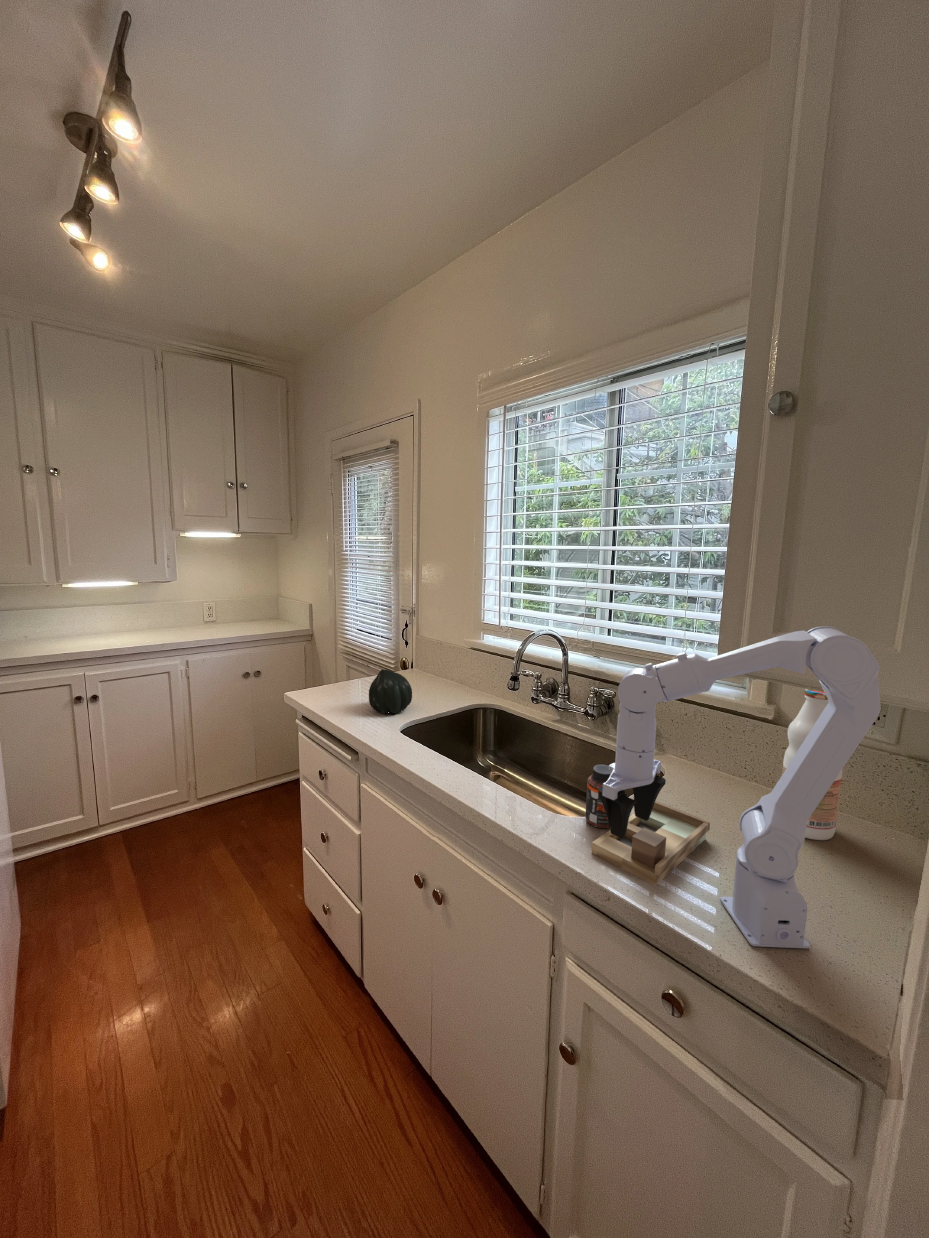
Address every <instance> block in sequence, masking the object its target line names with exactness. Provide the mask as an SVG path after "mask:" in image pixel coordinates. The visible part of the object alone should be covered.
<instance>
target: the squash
mask: <svg viewBox="0 0 929 1238" xmlns="http://www.w3.org/2000/svg"><path fill="white" fill-rule="evenodd" d="M412 699H413V689H412V686H411V683H410V681H408V679H407V678H406V677H405V676H404V675H402V674H400V673H399V672H396V671H392V670H390V669H383V668H382V669H380V671H379V672H378V673H377V675H376V677H375V678H374V679H373V680H372V681H371V684H370V686H369V689H368V702H369V705H370V707H371V708H372V710H374V711H375V710H376V712H378V711H381V712H380V713H382V714H384V713H388V712H390V714H392V713H396V714H398V713H399V712H400V711H404V710H406V709H407V708H408V706H409V705H410V704H411V703H412ZM388 714H389V713H388Z"/></svg>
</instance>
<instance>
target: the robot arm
mask: <svg viewBox="0 0 929 1238" xmlns="http://www.w3.org/2000/svg"><path fill="white" fill-rule="evenodd" d="M772 668H781V669H784V670H788V671H791V672H795V673H800V674H802V675H806V674H807V668H809V670H810V671H811V672H812V673H813V674H814V675H815V676H816V677H817V678H818V683H820V686H821V689H823V690H824V692H825V694H826V696H827V698H828V704H827V706H826V707H825V709H824V710H823V712H822V714H821V715H820V717H819V718H818V720H817V721H816V723H815V724H814V726H813V728H812V729H811V731H810V732H809V734H808V735H807V737H806V739H805V740H804V742H803V743H802V745H801V746H800V748H799V750H798V751H797V753H796V754H795V756H794V757H793V759H792V761H791V762H790V764H789V765H788V767H787V768H786V770H785V772H784V773H783V775H782V774H781V776H780V778H779V779H778V781H777V783H776V784H775V786H774V787H773V789H772V791H771V792H770V793H768V794H765V795H762V796H761V797H760V799H759V801H758V802H757V803H756V804H755V805H753V806H751V807H749V808H747V809H746V810H744V811H743V813H742V814H741V815H740V818H739V827H740V829H739V830H740V832H741V834H742V839H743V843H742V845H741V846H740V847H738V848H737V851H736V859H735V868H734V869H735V870H734V880H733V889H732V896H724V895H723V896H720V897H719V901H720V902H721V903H722V906H723V907H724V908H725V910H726V911H727V912H728V914H729V915H730V916H731V919H732V920H733V921H734V922H735V924H736V926H737V927H738V928H739V930H740V931H741V933H742V934H743V936H744V938H745V939H746V940H747V942H748V943H749V944H750V945H751V946H752V947H762V948H763V947H764V948H767V947H768V948H769V947H770V948H783V949H785V948H789V949H810V947H811V946H810V943H809V942H808V941H807V939H806V938H805V931H806V924H807V923H806V921H807V916H808V915H807V914H808V906H807V901H806V899H805V898H804V897H803V895H802V894H801V892H800V891H799V888H798V887H797V884H796V880H795V872H796V871H797V869H798V866H799V852H800V850H801V848H802V846H803V845H804V843H805V839H806V838H805V833H806V826H807V821H808V819H809V817H810V816H811V815H812V813H813V812H814V810H815V809H816V807H817V806H818V804H819V803H820V801H821V800H822V798H823V797H824V795H825V794H826V792H827V791H828V789H829V788H830V786H831V785H832V783H833V782H834V780H835V779H836V777H837V776H838V775H839V773H840V772H841V770H842V771H843V769H844V767H845V765H846V764H847V763H848V761H849V760H850V759H851V757H852V755H853V754H854V752H855V751H856V749H857V748H858V746H859V745H860V744H861V742H862V741H863V739H864V737H865V736H866V734H867V732H869V730H870V728H871V727H872V725H873V724H874V722H876V721H877V718H878V717H879V714H880V713H881V710H882V709H881V697H880V685H879V672H880V668H881V666H880V664H879V663H878V661H877V659H876V658H875V656H874V654H873V653H872V652H871V649H870V648H869V647H868V645H867V644H866V643H864V642H863V641H862V640H861V639H858V638H857V637H854V636H851V635H848V634H846V632H844V631H843V630H841V629H839V628H837V627H834V626H830V625H829V626H827V625H826V626H825V625H824V626H816V627H813V628H810V629H809V630H808V631H806V630H795V631H792V632H789V633H785V634H782V635H778V636H775V637H772V638H769V639H765V640H762V641H759V642H756V643H753V644H750V645H747V646H744V647H740V648H737V649H735V650H731V651H728V652H726V653H725V652H724V653H722V654H718V655H715V656H713V657H710V658H707V657H703V656H701V655H699V654H697V653H692V654H689V655H687V652H686V651H683V652H680V653H677V654H676V658H674V659H671V660H668V661H665V662H660V663H657V664H655V665H653V663H652V662H650V663H646V664H645V665H644V668H642V667H637V668H635V667H634V668H633V669H630V670H628V671H627V672H626V673H625V674H624V675H623V677H622V679H621V681H620V683H619V684H618V687H617V696H618V697H617V698H618V700H619V704H618V710H619V713H618V715H617V724H616V743H615V744H616V746H615V759H614V760H615V761H614V762H613V763H610V764H609V765H608V766H609V770H611V771H612V773H611V775H610V777H609V778H608V780H607V781H606V782H605V783H604V784H603V787H601V788H599V789H598V796H599V798H600V799H601V801H602V803H603V805H604V808H605V810H606V814H607V818H608V822H609V827H610V828H609V830H610V832H611V834H613V835H615V836H617V837H619V838H624V837H625V834H626V831H627V826H628V820H629V817H630V816H631V813H632V811H634V813H635V816H636V817H638V818H641V819H643V820H645V821H647V820H649V818H650V815H651V812H652V809H653V806H654V803H655V801H657V797H658V796H659V794H660V792H661V791H662V789H663V788H664V786H665V785H666V781H667V779H666V778H664V777H662V776H660V775H659V774H660V773H661V771H662V770H661V769H662V762H661V761H660V760H659V759H658V760H657V759H655V749H656V734H657V718H656V711H657V710H656V709H657V708H656V706H657V704H658V703H659V702H663V703H668V702H671V701H675V700H679V699H683V698H688V697H691V696H694V695H698V694H703V693H707V692H710V690H711V688H712V686H713V685H714V684H715V682H716V681H718V680H722V679H727V678H732V677H736V676H741V675H744V674H745V675H746V674H750V673H755V672H759V671H764V670H768V669H772ZM627 789H632V793H633V798H631V797H628V794H627V793H626V790H627Z"/></svg>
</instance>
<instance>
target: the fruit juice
mask: <svg viewBox="0 0 929 1238" xmlns="http://www.w3.org/2000/svg"><path fill="white" fill-rule="evenodd" d="M804 698H805V701H804V703H803V704H802V706H801V708H800V710H799V712H798V714H797V715H796V717H795V718H794V719H793V720H792V721H791V722H789V723H790V724H789V725H788V727H787V739H788V746H787V748H786V749H785V751H784V756H783V761H782V762H783V763H782V771H781V772H782V773H781V776H782V775H783V773H784V772H785V770H786V768H787V767H788V765H789V764H790V762H791V761H792V759H793V757H794V756H795V754H796V753H797V751H798V750H799V748H800V746H801V745H802V743H803V742H804V740H805V739H806V737H807V735H808V734H809V732H810V731H811V729H812V728H813V726H814V724H815V723H816V721H817V720H818V718H819V717H820V715H821V714H822V712H823V710H824V709H825V707H826V706H827V704H828V698H827V696H826V694H825V692H821V691H815V690H808V689H806V688H805V691H804ZM842 777H843V769H842V770H841V772H840V773H839V775H838V776H837V777H836V779H835V780H834V782H833V783H832V785H831V786H830V788H829V789H828V791H827V792H826V794H825V795H824V797H823V798H822V800H821V801H820V803H819V804H818V806H817V807H816V809H815V810H814V812H813V813H812V815H811V816H810V817H809V819H808V821H807V826H806V833H805V839H810V840H814V841H826V840H830V839H832V838H833V837H834V835H835V833H836V827H837V819H838V811H839V803H840V793H841V787H842V779H843V778H842Z"/></svg>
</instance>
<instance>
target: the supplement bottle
mask: <svg viewBox="0 0 929 1238" xmlns="http://www.w3.org/2000/svg"><path fill="white" fill-rule="evenodd" d="M611 773H612V771H611V770H609V765H606V764H596V765H594V766H593V768H592V774H591V775H590V776H588V778H587V781H586V783H587V784H586V801H585V802H586V803H585V820H586V821H587V822H588V824H589V825H591V826H592V827H595V828H599V829H610V827H609V822H608V818H607V814H606V810H605V808H604V805H603V803H602V801H601V799H600V798H599V796H598V789H599V788H601V787H603V784H604V783H605V782H606V781H607V780H608V778H609V777H610V775H611Z"/></svg>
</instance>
